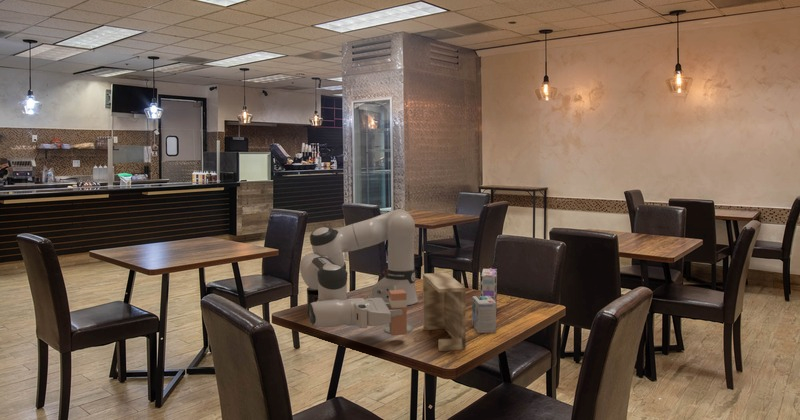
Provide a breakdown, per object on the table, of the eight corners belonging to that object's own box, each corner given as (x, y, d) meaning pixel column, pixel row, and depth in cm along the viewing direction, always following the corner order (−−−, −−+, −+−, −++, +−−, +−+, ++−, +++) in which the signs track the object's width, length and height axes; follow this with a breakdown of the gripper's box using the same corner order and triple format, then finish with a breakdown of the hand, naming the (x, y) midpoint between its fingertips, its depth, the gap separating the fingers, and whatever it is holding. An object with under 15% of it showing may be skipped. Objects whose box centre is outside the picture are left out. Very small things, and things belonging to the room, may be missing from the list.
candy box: (495, 318, 217) (496, 275, 215) (480, 317, 218) (480, 275, 217) (497, 308, 231) (497, 268, 229) (482, 307, 232) (482, 267, 230)
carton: (391, 335, 188) (391, 293, 186) (389, 330, 193) (388, 290, 191) (406, 334, 189) (406, 293, 187) (404, 329, 193) (403, 289, 192)
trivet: (378, 331, 202) (378, 329, 202) (392, 324, 211) (392, 322, 211) (403, 335, 197) (403, 333, 197) (416, 327, 206) (416, 325, 206)
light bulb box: (471, 324, 210) (471, 295, 208) (489, 323, 210) (489, 295, 209) (477, 333, 199) (478, 303, 198) (496, 332, 199) (497, 302, 198)
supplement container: (319, 310, 230) (319, 285, 229) (327, 314, 225) (326, 288, 224) (304, 313, 227) (303, 287, 225) (311, 317, 221) (311, 291, 220)
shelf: (439, 351, 181) (438, 289, 179) (423, 329, 204) (422, 273, 202) (465, 349, 183) (465, 287, 181) (446, 327, 206) (446, 272, 204)
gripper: (355, 312, 198) (395, 309, 200) (362, 330, 178) (406, 327, 180) (355, 294, 197) (394, 292, 200) (362, 310, 177) (405, 307, 180)
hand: (400, 308), depth 190 cm, fingers closed on carton, 5 cm apart
